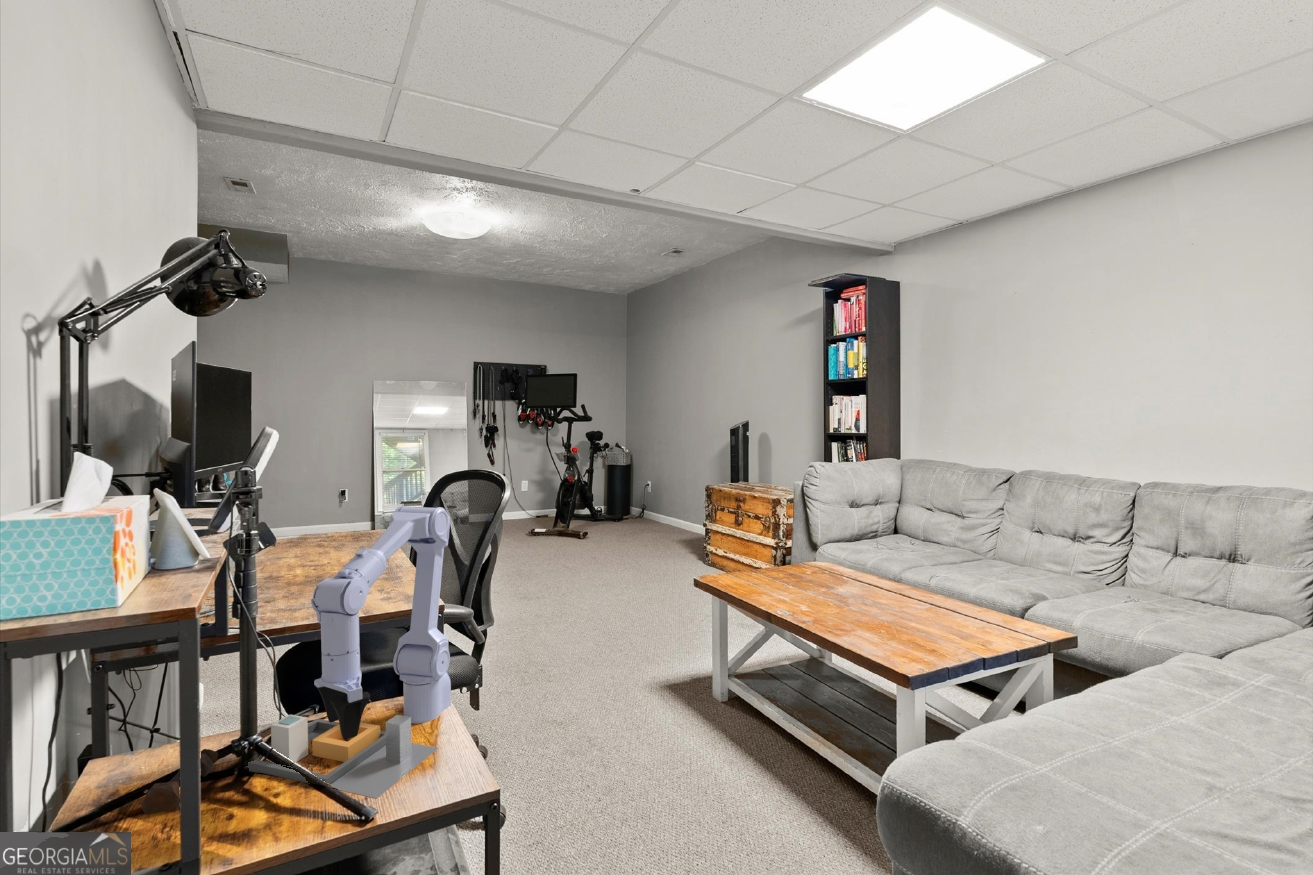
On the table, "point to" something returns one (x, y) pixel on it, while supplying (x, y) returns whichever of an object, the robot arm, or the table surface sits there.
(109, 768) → the table surface
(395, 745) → the grey rectangular block
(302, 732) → the block
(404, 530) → the robot arm
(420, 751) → the lid
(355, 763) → the grey rimmed tray
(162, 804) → the bolt
